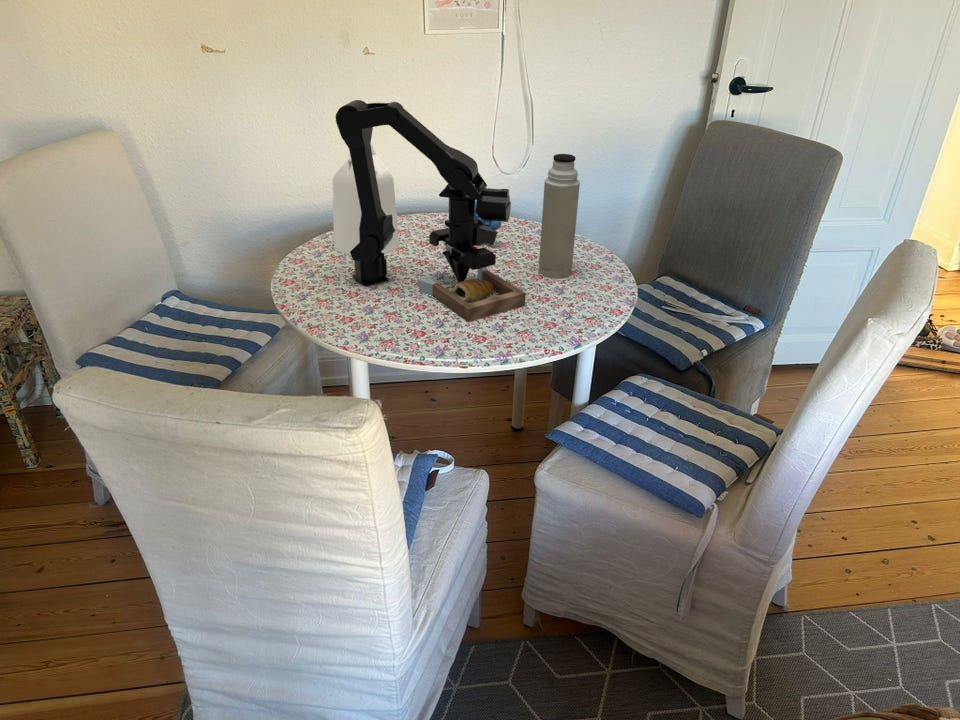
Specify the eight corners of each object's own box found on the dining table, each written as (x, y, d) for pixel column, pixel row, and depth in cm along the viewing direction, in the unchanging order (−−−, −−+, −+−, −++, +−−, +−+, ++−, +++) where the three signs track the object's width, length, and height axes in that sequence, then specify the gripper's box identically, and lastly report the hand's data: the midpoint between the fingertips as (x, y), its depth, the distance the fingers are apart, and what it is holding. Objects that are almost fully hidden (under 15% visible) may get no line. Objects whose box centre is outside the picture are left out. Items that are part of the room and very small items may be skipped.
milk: (367, 236, 192) (361, 137, 179) (399, 247, 186) (395, 145, 173) (334, 249, 184) (325, 146, 170) (366, 261, 178) (359, 155, 165)
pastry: (481, 285, 167) (481, 270, 165) (500, 295, 163) (501, 280, 161) (449, 296, 162) (449, 280, 160) (468, 306, 158) (469, 290, 156)
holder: (462, 323, 150) (462, 310, 148) (418, 291, 163) (417, 279, 162) (529, 303, 159) (530, 291, 157) (482, 275, 172) (482, 263, 170)
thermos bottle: (531, 269, 175) (539, 154, 161) (556, 262, 179) (565, 149, 165) (553, 281, 170) (563, 162, 155) (578, 273, 174) (589, 157, 160)
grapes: (508, 243, 190) (510, 199, 184) (494, 251, 185) (496, 206, 179) (472, 234, 195) (472, 190, 189) (457, 241, 190) (458, 197, 184)
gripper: (517, 223, 153) (514, 290, 161) (469, 199, 166) (468, 262, 174) (474, 233, 148) (472, 301, 156) (427, 207, 161) (428, 271, 169)
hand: (461, 283), depth 164 cm, fingers closed
